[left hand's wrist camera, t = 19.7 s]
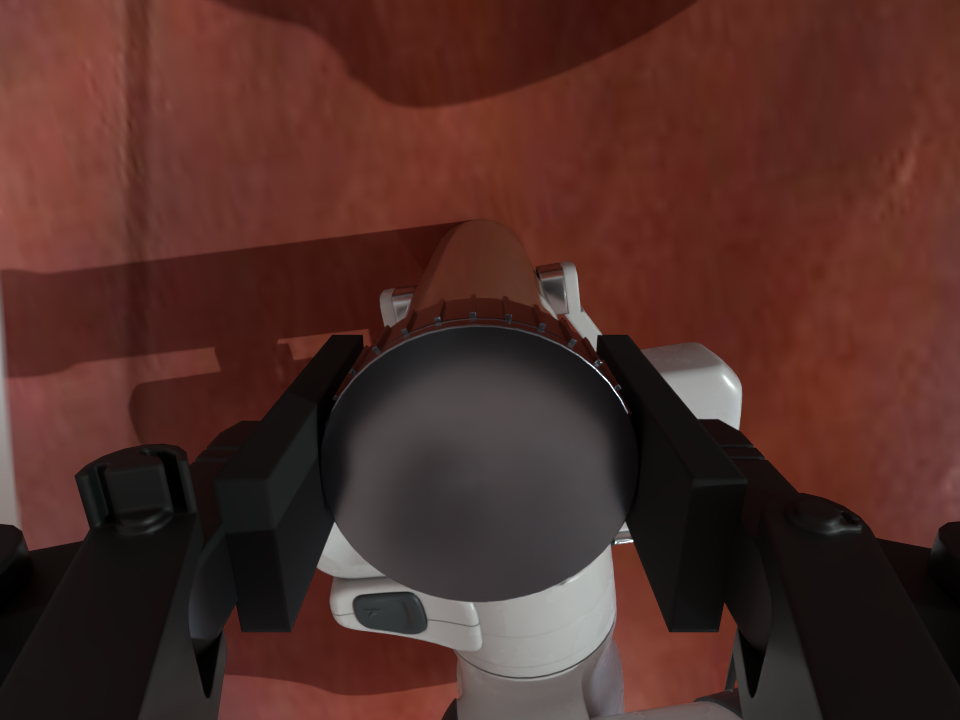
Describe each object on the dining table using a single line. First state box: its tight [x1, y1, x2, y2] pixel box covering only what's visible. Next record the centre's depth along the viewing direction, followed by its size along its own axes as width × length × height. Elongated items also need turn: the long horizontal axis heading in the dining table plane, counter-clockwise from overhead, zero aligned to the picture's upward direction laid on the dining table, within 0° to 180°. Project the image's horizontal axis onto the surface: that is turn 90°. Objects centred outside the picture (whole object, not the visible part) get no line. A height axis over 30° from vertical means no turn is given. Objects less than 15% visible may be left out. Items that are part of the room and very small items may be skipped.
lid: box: [320, 294, 640, 602], centre depth 11 cm, size 6×6×2 cm
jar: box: [401, 220, 558, 320], centre depth 20 cm, size 5×5×19 cm
